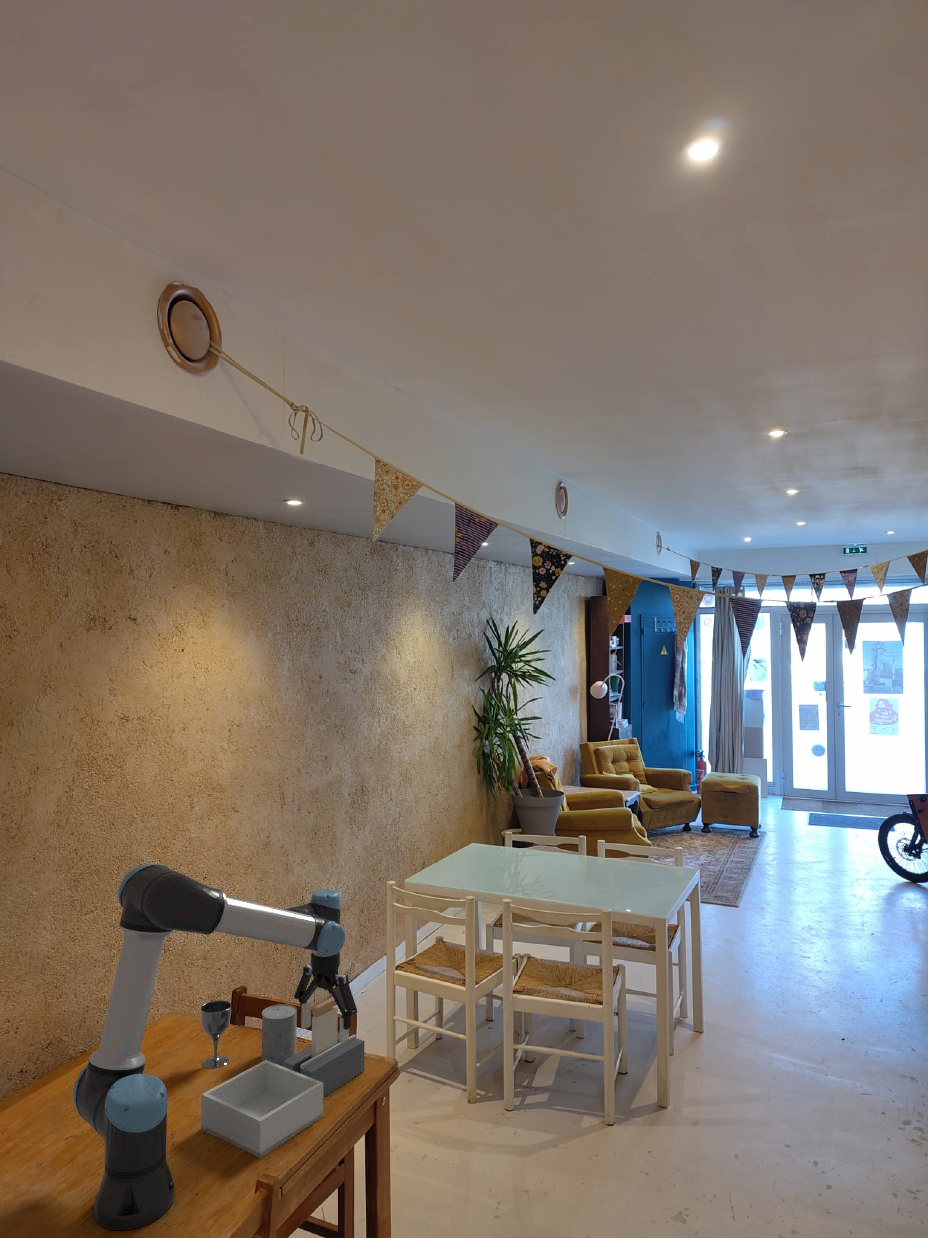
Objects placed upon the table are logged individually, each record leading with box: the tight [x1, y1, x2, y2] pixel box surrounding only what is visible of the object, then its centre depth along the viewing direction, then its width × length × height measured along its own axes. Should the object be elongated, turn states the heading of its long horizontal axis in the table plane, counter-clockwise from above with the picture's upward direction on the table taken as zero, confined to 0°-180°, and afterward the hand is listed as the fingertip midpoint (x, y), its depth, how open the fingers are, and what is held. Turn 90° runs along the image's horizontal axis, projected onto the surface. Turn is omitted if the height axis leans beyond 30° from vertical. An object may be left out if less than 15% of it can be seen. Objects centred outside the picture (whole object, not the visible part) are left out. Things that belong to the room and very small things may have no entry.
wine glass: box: [200, 999, 232, 1070], centre depth 227 cm, size 8×8×15 cm
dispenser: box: [282, 1031, 365, 1098], centre depth 217 cm, size 20×10×9 cm, turn 146°
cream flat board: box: [311, 996, 339, 1058], centre depth 217 cm, size 8×2×16 cm, turn 146°
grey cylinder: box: [260, 1003, 298, 1066], centre depth 230 cm, size 10×10×12 cm
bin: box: [200, 1060, 324, 1159], centre depth 198 cm, size 20×20×8 cm
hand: (324, 1034), depth 217 cm, fingers open, 13 cm apart
